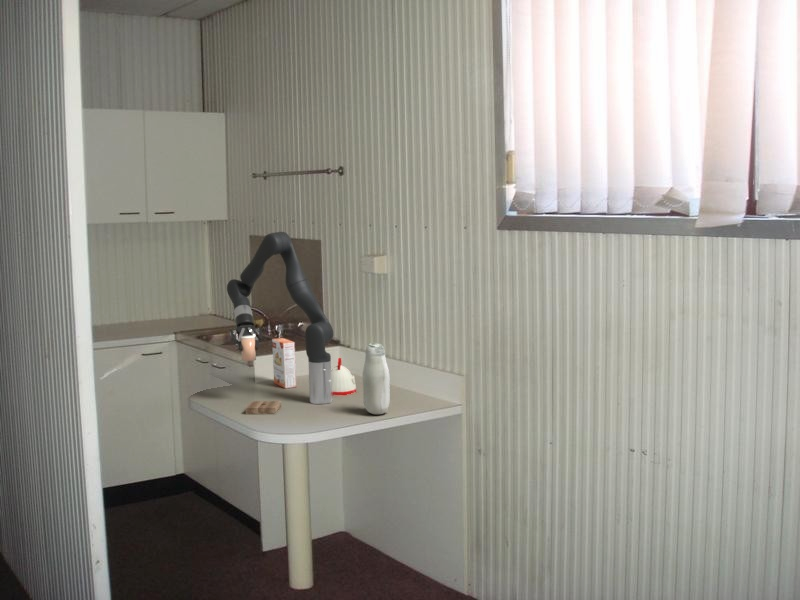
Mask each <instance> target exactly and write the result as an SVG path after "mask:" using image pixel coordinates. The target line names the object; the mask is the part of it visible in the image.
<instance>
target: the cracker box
mask: <svg viewBox="0 0 800 600" xmlns="http://www.w3.org/2000/svg"><path fill="white" fill-rule="evenodd" d="M271 341H272V342H271V343H272V345H271V346H272V363H273V364H272V365H273V366H272V368H273V384H275V385H277V386H279V387H282V388H283V389H285V390H287V389H291V388H292V389H294V388H297V374H296V373H297V372H296V371H297V370H296V366H297V365H296V345H295V344H296V342H295V341H292V340H290V339H288V338H284V337H280V338H279V337H278V338H272V339H271Z"/></svg>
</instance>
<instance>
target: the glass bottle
mask: <svg viewBox="0 0 800 600" xmlns="http://www.w3.org/2000/svg"><path fill="white" fill-rule="evenodd" d="M364 352H365V357H364V358H365V359H364V364H363V369H362V392H363V393H362V394H363V405H364V408H365V410H366V412H367V413H370V414H372V415H374V416H378V415H379V416H380V415H382V414H385V413H386V412H387V411H388V409H389V407H390V401H391V400H390V399H391V397H390V396H391V395H390V394H391V392H390V391H391V390H390V389H391V387H390V385H391V382H390V381H391V380H390V371H389V366H388V362H387V358H386V351H385V347H384V346H383V344H382V343H379V342H371V343H368V344H367V346H366V347H365V351H364Z"/></svg>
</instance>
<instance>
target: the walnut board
mask: <svg viewBox="0 0 800 600" xmlns="http://www.w3.org/2000/svg"><path fill="white" fill-rule="evenodd" d="M281 408H282V400H265V401H264V400H262V401H261V400H256V401H255V400H253V401H250V402H249V403H248V404H247V405H246V406H245V415H275V414H274V413H276V414H277V413H278V412H279V411H280V409H281ZM278 410H279V411H278ZM277 411H278V412H277ZM270 413H271V414H270ZM272 413H273V414H272Z"/></svg>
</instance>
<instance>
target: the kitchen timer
mask: <svg viewBox="0 0 800 600" xmlns="http://www.w3.org/2000/svg"><path fill="white" fill-rule="evenodd" d="M337 359H338V360H337V365H336V366H334V367H333V368H331V378H332V396H334V395H342V396H348V395H347V394H350V395H352V394H351V393H354V392H356V393H357V385H356V379H355V378H356V377H355V374H353V375H352V372H351V371H350V370H349V369H348V368H347V367H346V366H344V365H343V364H342V357H338V358H337ZM354 394H355V393H354Z"/></svg>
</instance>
